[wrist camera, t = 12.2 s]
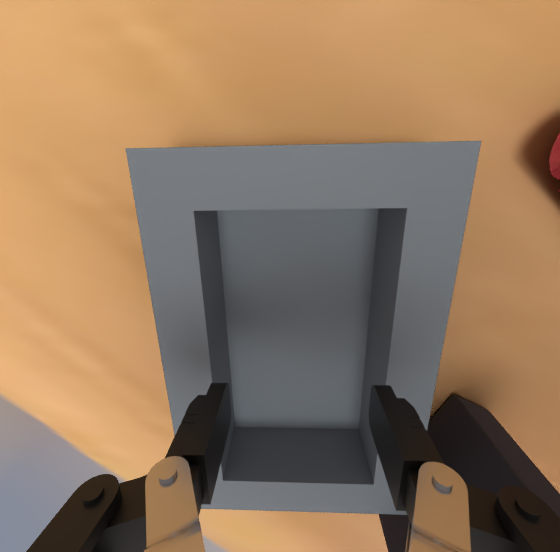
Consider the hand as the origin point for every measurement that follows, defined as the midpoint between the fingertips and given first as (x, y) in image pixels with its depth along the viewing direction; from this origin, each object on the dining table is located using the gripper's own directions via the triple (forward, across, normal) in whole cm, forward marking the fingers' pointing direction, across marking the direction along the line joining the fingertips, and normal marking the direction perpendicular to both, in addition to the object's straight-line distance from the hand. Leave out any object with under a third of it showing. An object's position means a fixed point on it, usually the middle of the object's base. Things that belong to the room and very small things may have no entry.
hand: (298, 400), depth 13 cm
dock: (+7, 0, 0) cm, 7 cm away
